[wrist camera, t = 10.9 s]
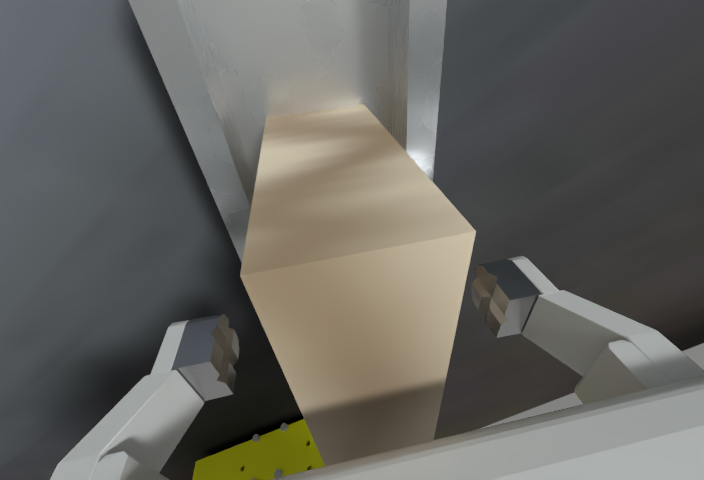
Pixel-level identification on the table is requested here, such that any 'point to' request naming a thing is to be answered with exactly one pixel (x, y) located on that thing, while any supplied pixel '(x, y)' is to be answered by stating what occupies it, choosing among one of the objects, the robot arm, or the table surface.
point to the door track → (291, 76)
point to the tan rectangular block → (355, 279)
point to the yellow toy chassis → (264, 456)
